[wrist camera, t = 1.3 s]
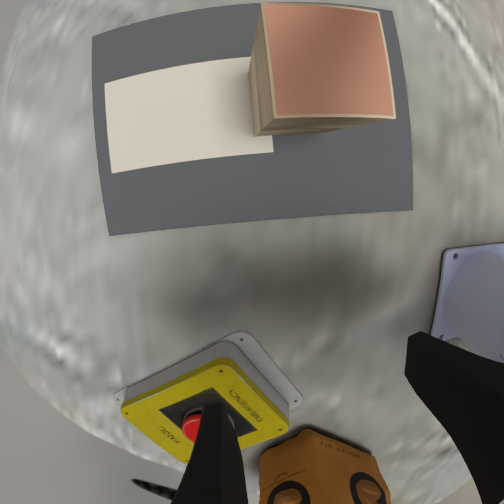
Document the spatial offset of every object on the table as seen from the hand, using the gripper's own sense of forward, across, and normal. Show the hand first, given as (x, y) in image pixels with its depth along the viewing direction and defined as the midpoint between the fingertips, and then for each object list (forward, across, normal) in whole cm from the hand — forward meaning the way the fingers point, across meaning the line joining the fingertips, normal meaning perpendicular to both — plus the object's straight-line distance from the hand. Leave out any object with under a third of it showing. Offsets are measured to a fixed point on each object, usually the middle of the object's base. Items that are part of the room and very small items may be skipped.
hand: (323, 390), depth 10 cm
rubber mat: (+11, -2, -10) cm, 15 cm away
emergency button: (+12, +7, +10) cm, 18 cm away
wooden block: (+10, -4, -10) cm, 15 cm away
